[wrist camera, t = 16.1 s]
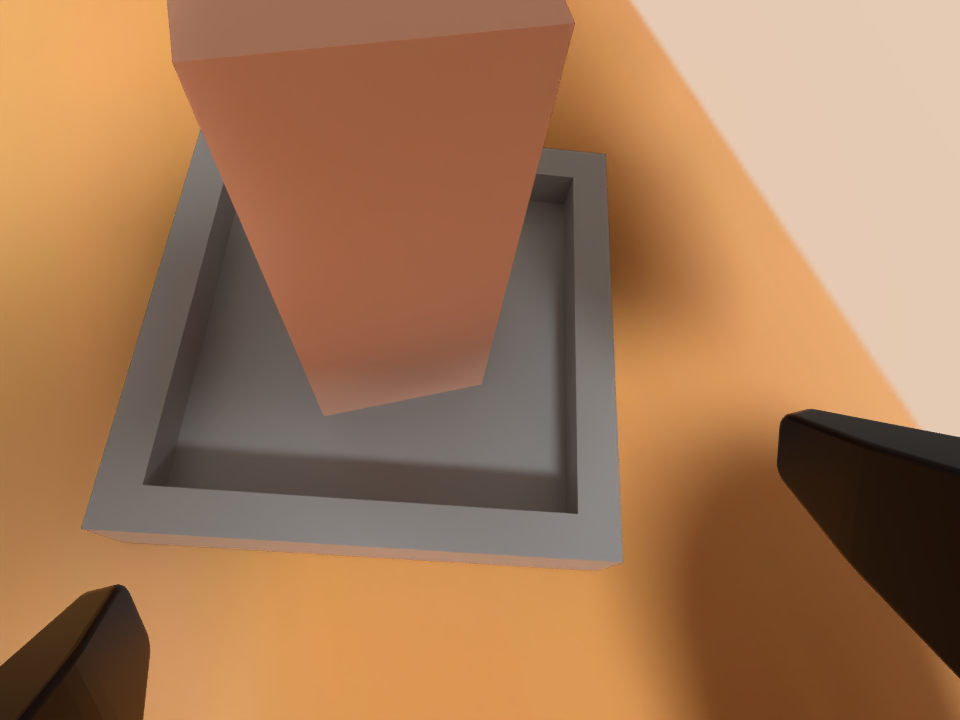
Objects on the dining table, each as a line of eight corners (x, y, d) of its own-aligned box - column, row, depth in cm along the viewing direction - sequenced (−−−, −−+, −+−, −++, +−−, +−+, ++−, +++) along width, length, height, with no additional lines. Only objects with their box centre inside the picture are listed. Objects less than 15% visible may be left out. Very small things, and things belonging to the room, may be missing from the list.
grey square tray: (598, 570, 19) (622, 562, 17) (123, 541, 18) (80, 529, 16) (588, 198, 25) (605, 154, 22) (226, 162, 24) (205, 112, 22)
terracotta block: (481, 384, 20) (574, 22, 8) (323, 416, 19) (172, 62, 7) (446, 254, 22) (481, -195, 10) (301, 277, 21) (151, -185, 9)
